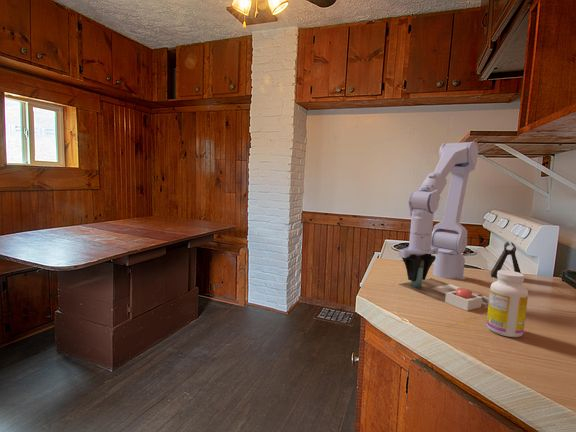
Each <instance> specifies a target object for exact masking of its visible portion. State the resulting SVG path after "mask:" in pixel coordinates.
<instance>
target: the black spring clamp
mask: <svg viewBox="0 0 576 432" xmlns="http://www.w3.org/2000/svg"><path fill="white" fill-rule="evenodd" d="M510 243H511V246H512V249H508V248H507V247H508V246H510ZM510 243H509V241H506V242H505V243H504V245H503V247H504V249H503V251H502V253H501V254H500V255H499V257H498V259H497V261H496V262H495V264H494V266H493V267H492V269H491V271H490V276H491V278H493V277H494V278H493V279H498V278H497V272H498V270H502V269H503V266H504V263H505V261H506V259H507V258H508V256H510V257H511V261H512V267H513V271H514V272H518V273H521V269H520V265H519V262H518V259H517V256H516V251H517V247H516V246H515V243H513V242H512V241H511V242H510ZM521 274H522V273H521Z"/></svg>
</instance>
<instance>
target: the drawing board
mask: <svg viewBox="0 0 576 432" xmlns="http://www.w3.org/2000/svg"><path fill="white" fill-rule="evenodd" d="M397 285H399V286H400V287H404V288H406V289H409V290H411V291H415V292H417V293H420V294H422V295H424V296H427V297H429V298H432V299H434V300H437V301H440V302H442V303H445V304H448V303H446V302H445V297H446V293H447V292H452V291H456V290H457V288H461V287H459V286H456V285H454V284H451V283H446V282H444V281H441V280H437V279H434V278H432V277H431V278H425V280H422V287H421V288H414V287H411V286H410V285H411V281H408V282H403V283H402V282H401V283H397ZM472 294H474V295H477V296H480V297H482V304H481V307H479V308H476V309H472V310H469V311H473V310H477V309H481V308H484V307H488V304H489V296H486V295H483V294H481V293H478V292H475V291H472ZM448 305H451V304H448ZM451 306H453V305H451ZM453 307H456V306H453ZM456 308H457V309H460V310H463V311H466V310H464V309H461V308H458V307H456ZM469 311H468V312H469ZM466 312H467V311H466Z"/></svg>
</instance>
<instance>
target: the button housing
mask: <svg viewBox="0 0 576 432" xmlns="http://www.w3.org/2000/svg"><path fill="white" fill-rule="evenodd" d="M456 291H457V290H456ZM456 291H452V292H447V293H446V297H445V302H446V303H445V302H444V303H445V304H447V303H448V305H450V304H451V306H452V305H453V307H455V306H456V308H457V307H458V308H457V309H460V308H461V309H460V310H463V309H464V310H463V311H465V310H466V312H469V310H470V311H473V310H472V309H474V310H477V309H480V308H479V307H481V304H482V297H480V296H477V295H474V294H472V298H470V299H465V298H462V297H460V296H457V295H456ZM476 308H477V309H476ZM481 308H482V307H481Z"/></svg>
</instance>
